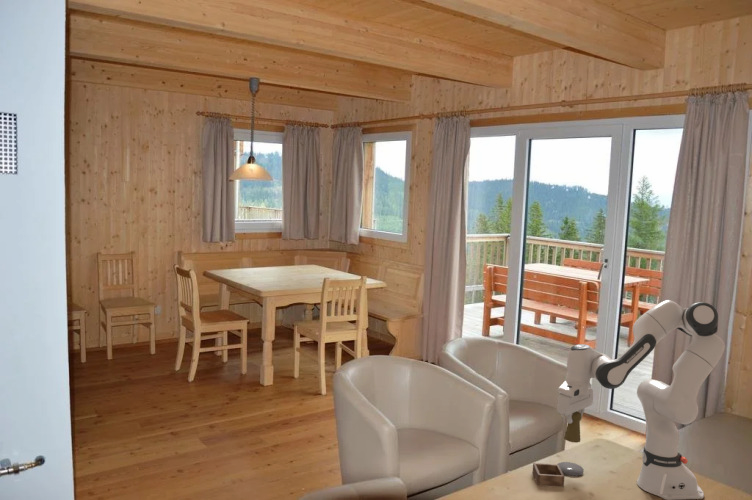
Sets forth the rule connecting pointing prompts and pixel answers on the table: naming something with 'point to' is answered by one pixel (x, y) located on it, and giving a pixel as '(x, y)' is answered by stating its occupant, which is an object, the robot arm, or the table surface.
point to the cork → (573, 428)
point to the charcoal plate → (571, 469)
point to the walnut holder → (548, 474)
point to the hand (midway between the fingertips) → (574, 421)
